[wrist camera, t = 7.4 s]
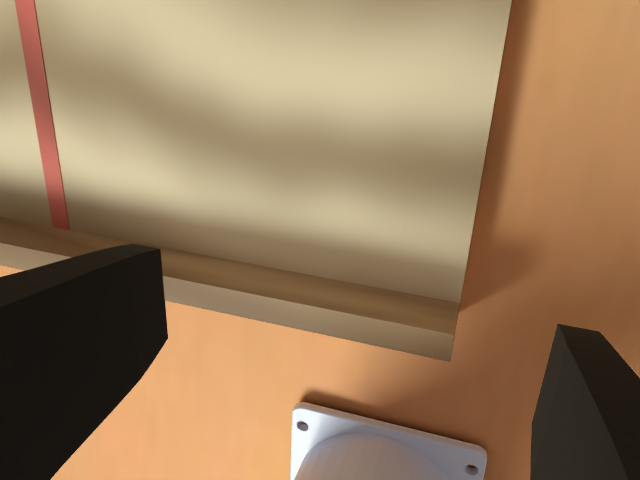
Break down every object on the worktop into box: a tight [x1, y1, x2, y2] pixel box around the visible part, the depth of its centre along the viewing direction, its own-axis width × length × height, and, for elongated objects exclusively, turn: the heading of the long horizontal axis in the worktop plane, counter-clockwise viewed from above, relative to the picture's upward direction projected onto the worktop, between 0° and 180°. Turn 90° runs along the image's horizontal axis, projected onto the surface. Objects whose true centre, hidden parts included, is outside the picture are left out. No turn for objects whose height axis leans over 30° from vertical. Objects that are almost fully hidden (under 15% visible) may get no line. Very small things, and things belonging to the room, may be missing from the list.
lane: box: [0, 0, 512, 362], centre depth 20 cm, size 13×28×3 cm, turn 88°
